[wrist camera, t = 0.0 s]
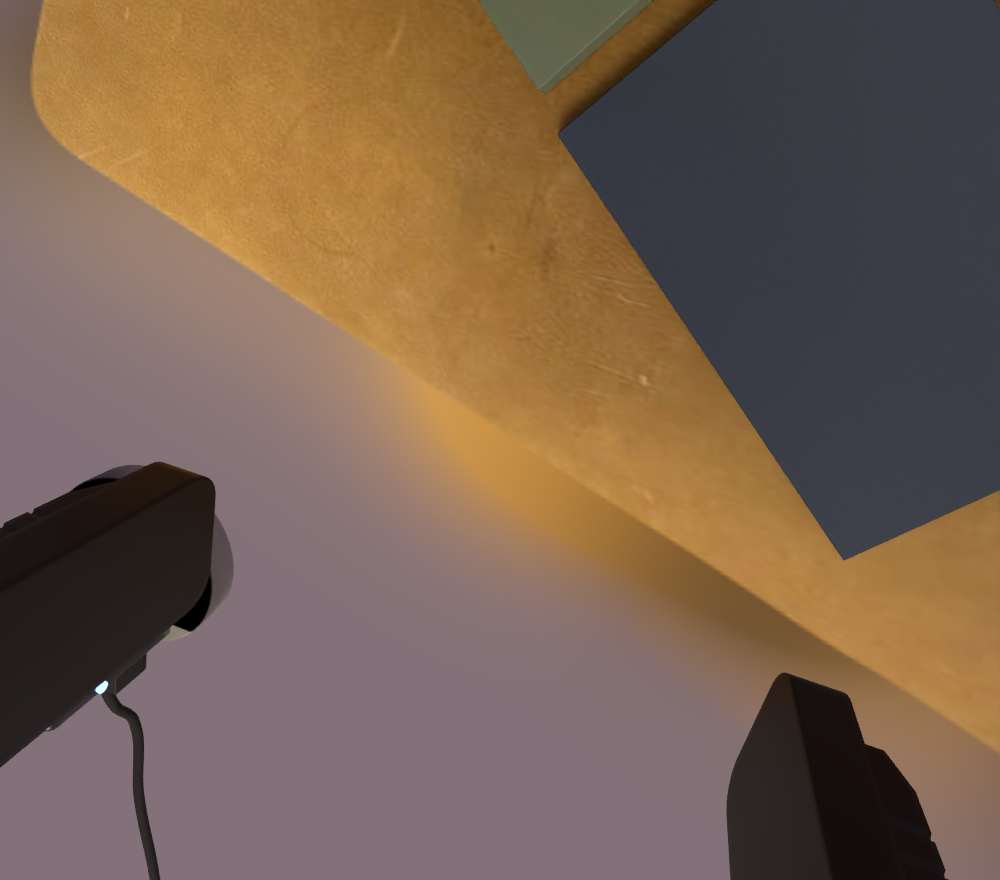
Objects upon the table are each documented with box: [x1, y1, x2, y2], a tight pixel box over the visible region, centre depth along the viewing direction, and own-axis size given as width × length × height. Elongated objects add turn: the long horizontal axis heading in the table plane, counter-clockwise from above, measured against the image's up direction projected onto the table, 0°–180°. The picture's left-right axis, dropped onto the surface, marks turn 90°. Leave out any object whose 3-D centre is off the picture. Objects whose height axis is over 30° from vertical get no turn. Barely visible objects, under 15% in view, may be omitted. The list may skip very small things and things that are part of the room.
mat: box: [558, 0, 1000, 560], centre depth 27 cm, size 22×14×1 cm, turn 37°
